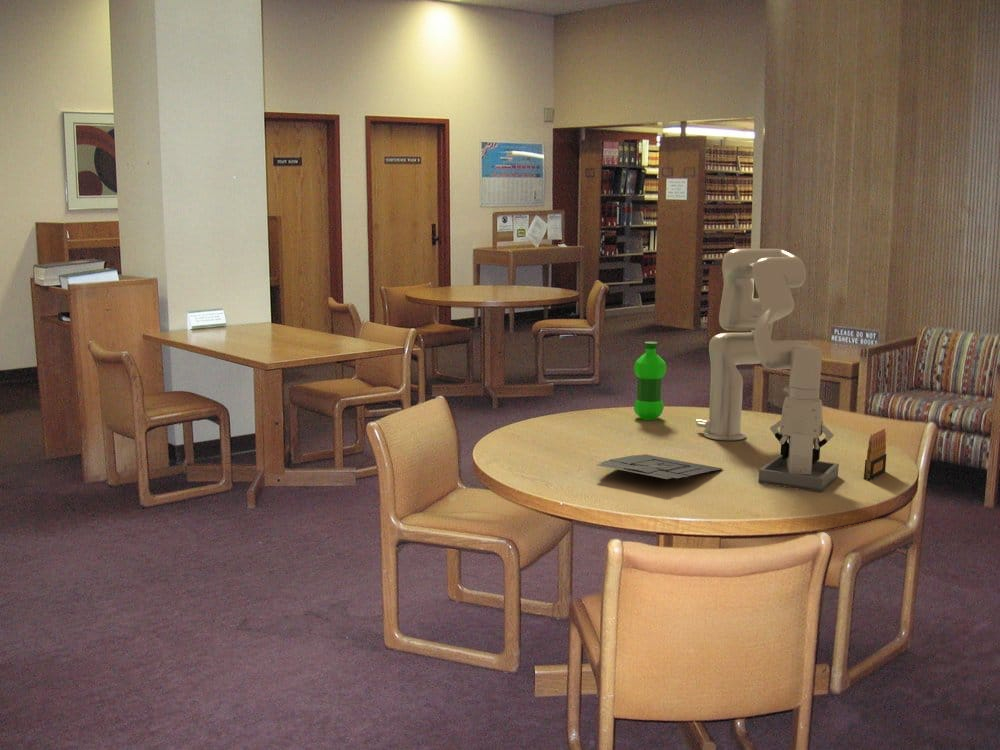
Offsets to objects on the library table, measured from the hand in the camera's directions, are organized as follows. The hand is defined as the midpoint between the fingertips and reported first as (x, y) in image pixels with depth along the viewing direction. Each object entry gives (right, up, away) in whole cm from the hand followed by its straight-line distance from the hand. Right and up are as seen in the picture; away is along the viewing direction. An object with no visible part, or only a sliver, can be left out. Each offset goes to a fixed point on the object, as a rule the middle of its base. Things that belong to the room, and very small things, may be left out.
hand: (799, 460), depth 269 cm
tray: (0, -5, +1) cm, 5 cm away
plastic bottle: (-29, +8, +69) cm, 76 cm away
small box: (0, -3, 0) cm, 3 cm away
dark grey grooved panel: (-36, -4, +5) cm, 37 cm away
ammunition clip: (+21, -5, +5) cm, 23 cm away
